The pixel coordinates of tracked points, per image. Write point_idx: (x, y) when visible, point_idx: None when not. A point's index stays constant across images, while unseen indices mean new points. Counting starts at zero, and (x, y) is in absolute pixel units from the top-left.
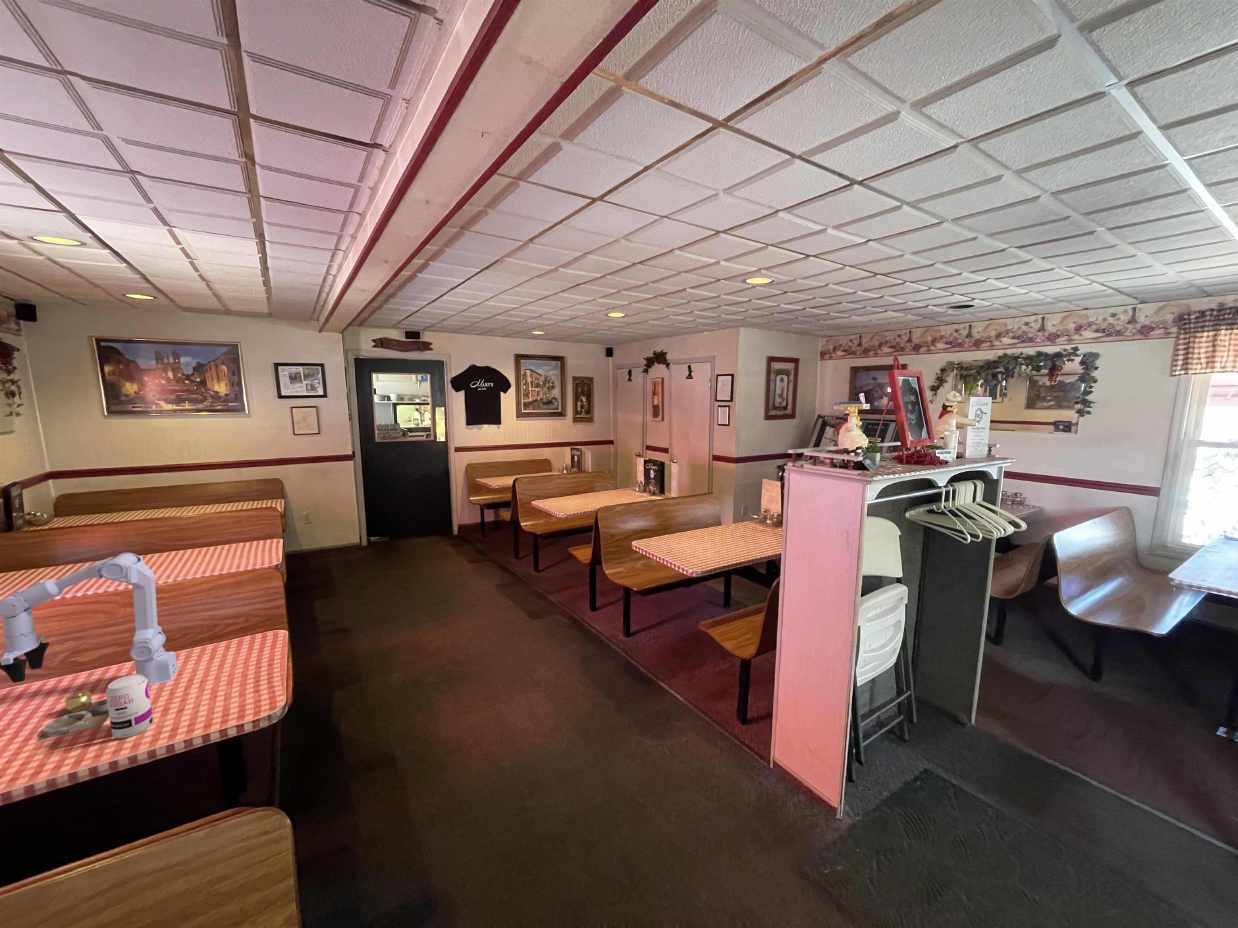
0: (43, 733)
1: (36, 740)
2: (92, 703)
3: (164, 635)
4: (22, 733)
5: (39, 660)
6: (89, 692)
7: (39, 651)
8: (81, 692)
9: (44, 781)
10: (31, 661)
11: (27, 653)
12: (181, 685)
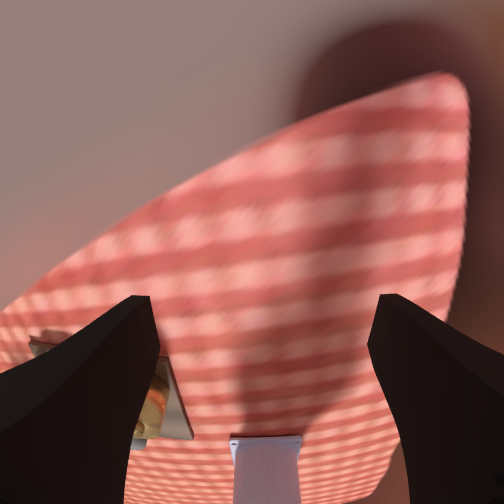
0: (44, 351)
1: (29, 344)
2: (172, 400)
3: None
4: (59, 295)
5: (391, 397)
6: (148, 437)
7: (420, 482)
8: (134, 435)
9: None
10: (414, 354)
11: (473, 424)
12: (211, 476)
